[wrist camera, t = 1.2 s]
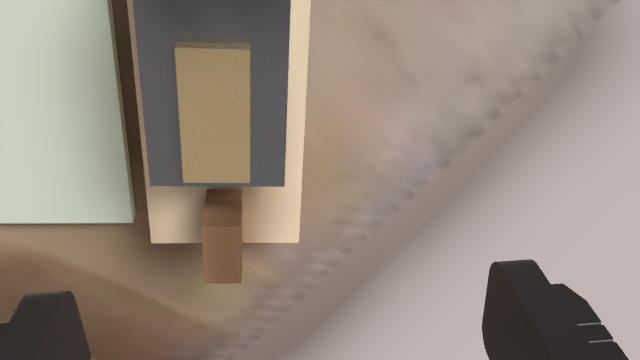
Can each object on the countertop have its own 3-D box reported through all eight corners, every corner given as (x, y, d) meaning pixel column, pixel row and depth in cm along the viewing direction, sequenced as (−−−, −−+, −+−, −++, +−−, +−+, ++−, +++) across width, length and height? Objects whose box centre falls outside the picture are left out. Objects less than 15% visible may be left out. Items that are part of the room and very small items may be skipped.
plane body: (162, 198, 32) (140, 284, 26) (123, -267, 22) (72, -306, 16) (294, 199, 32) (302, 282, 26) (313, -251, 23) (334, -283, 17)
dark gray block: (164, 138, 26) (147, 194, 22) (146, -90, 21) (120, -73, 17) (281, 140, 26) (285, 195, 22) (287, -82, 22) (294, -64, 18)
